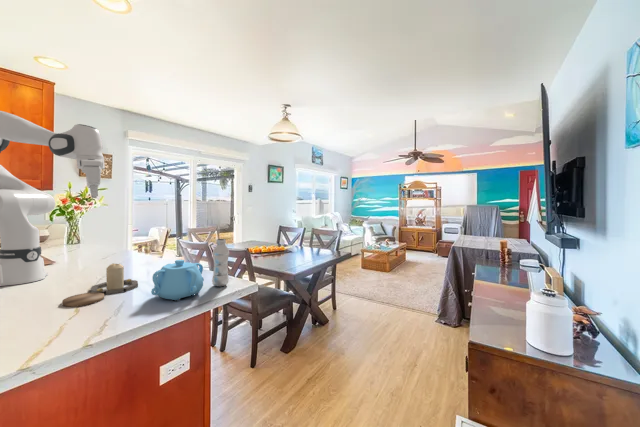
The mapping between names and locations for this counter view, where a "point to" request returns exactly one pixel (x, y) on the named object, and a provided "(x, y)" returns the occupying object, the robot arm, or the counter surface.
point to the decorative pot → (178, 280)
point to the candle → (115, 276)
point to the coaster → (83, 299)
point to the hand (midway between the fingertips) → (94, 197)
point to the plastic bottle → (220, 263)
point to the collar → (100, 289)
